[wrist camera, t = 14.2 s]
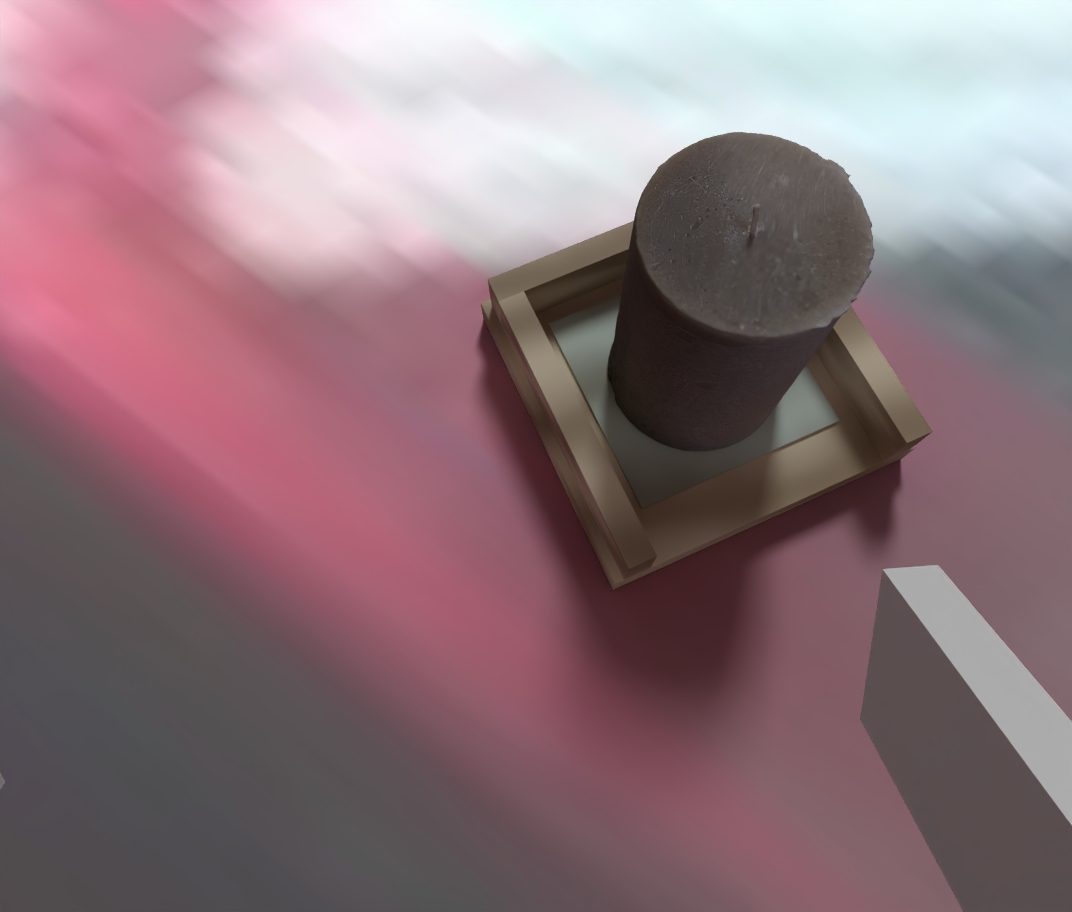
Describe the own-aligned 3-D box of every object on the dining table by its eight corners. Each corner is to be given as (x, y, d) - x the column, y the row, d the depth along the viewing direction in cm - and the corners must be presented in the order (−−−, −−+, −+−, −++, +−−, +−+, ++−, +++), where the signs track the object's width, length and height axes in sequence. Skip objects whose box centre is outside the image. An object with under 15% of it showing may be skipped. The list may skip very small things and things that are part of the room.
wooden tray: (483, 319, 49) (475, 275, 44) (746, 212, 51) (765, 159, 46) (612, 590, 43) (619, 572, 39) (900, 459, 45) (940, 427, 41)
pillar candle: (572, 372, 45) (582, 213, 31) (687, 263, 47) (747, 66, 33) (703, 489, 43) (779, 375, 29) (818, 369, 45) (943, 207, 31)
